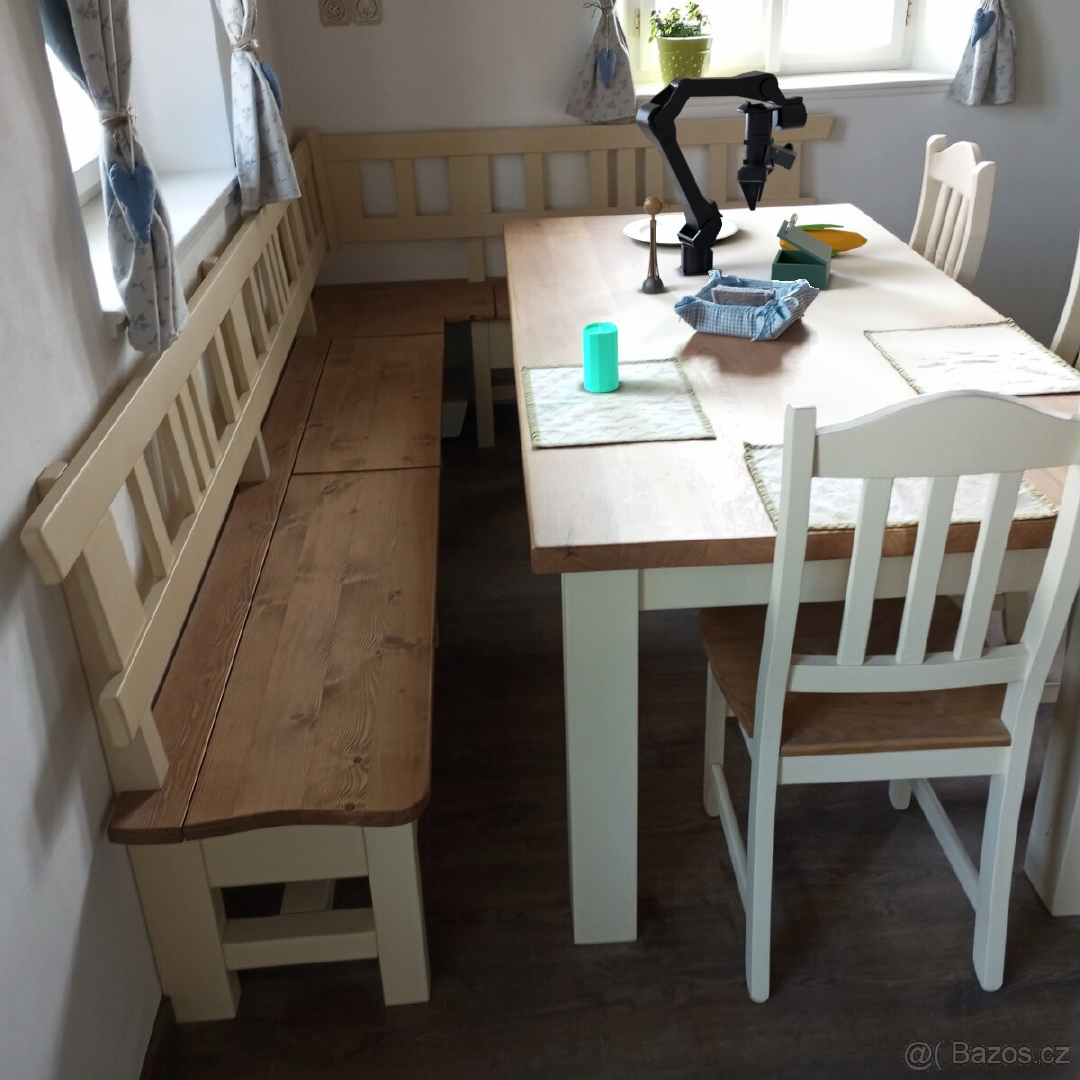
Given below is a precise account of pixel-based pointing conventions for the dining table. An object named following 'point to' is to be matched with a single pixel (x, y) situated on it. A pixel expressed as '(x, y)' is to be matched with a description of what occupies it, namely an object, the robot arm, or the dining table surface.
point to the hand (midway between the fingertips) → (755, 206)
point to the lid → (804, 240)
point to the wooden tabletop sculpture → (653, 247)
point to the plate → (670, 230)
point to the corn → (830, 238)
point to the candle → (600, 357)
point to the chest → (800, 268)
